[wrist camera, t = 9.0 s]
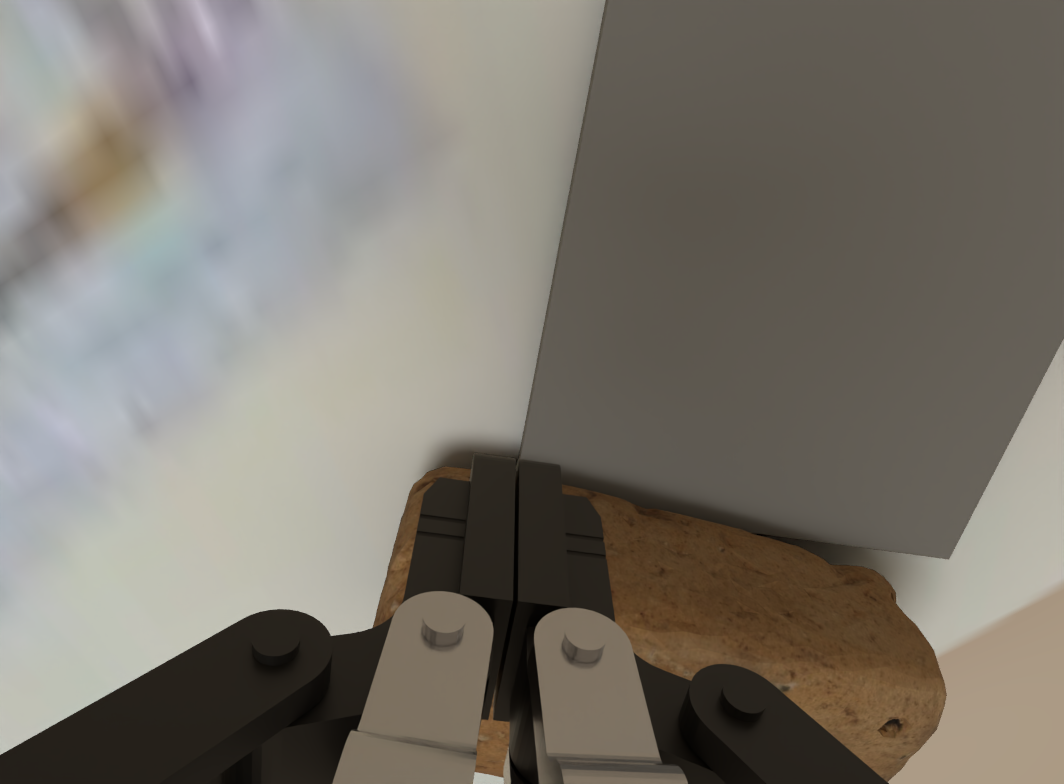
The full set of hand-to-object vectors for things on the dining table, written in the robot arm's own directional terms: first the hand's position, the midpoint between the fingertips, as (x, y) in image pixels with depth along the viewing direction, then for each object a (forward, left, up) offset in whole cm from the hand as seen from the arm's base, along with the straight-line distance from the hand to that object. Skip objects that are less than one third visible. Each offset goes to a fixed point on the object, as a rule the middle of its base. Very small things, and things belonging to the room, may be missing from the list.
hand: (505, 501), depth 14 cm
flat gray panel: (0, +11, -15) cm, 18 cm away
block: (+13, -3, -11) cm, 17 cm away
